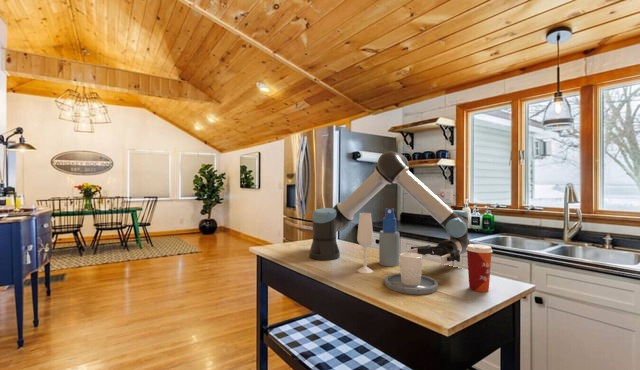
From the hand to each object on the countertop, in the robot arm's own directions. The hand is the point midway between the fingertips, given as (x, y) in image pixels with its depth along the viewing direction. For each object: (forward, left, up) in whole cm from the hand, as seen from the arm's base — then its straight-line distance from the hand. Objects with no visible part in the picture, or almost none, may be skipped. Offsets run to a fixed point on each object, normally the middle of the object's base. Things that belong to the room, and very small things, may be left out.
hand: (424, 257), depth 120 cm
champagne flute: (-16, -17, -9) cm, 25 cm away
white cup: (+5, -8, -8) cm, 12 cm away
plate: (+5, -8, -9) cm, 13 cm away
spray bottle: (-24, -2, -9) cm, 26 cm away
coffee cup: (+14, +13, -9) cm, 21 cm away
